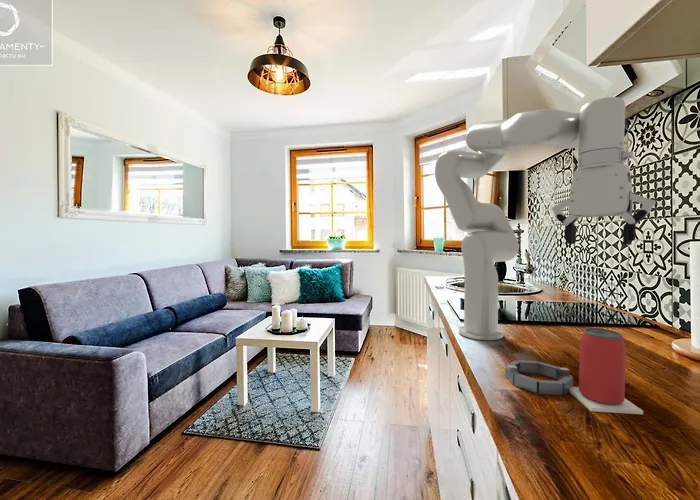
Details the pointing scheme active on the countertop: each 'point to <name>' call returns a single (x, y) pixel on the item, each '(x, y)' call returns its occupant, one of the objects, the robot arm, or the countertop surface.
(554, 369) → the collar
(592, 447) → the countertop surface
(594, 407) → the plate
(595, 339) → the beer can
